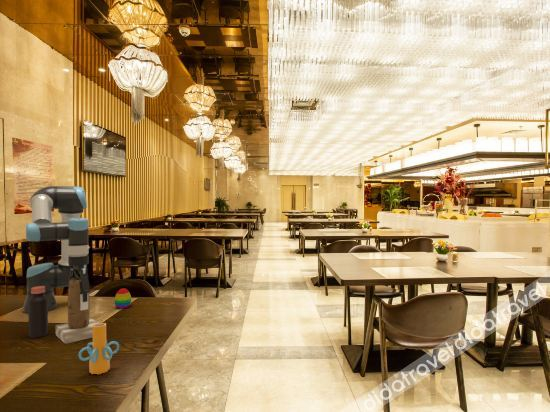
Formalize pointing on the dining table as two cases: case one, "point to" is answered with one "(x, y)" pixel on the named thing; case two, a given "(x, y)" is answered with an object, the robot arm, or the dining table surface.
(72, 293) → the brown river rock
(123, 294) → the decorative egg
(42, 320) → the bottle
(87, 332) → the platform
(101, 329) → the orange vase with handles
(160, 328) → the dining table surface
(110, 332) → the dining table surface
